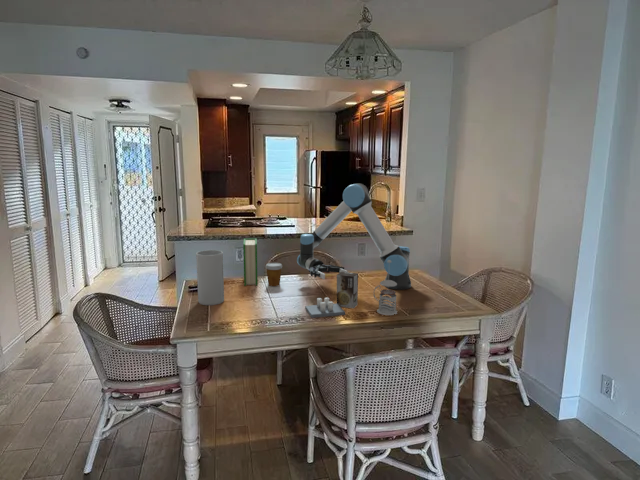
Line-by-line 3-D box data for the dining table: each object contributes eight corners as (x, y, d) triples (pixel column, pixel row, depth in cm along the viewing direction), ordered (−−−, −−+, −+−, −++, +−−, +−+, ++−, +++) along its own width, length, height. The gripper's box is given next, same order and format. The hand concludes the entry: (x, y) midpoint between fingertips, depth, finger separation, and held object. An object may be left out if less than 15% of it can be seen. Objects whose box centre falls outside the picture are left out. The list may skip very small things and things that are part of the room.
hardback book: (257, 285, 238) (256, 243, 234) (244, 286, 237) (243, 244, 233) (257, 277, 255) (256, 238, 251) (244, 277, 254) (243, 238, 250)
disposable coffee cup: (285, 284, 241) (285, 263, 239) (275, 288, 233) (275, 267, 231) (272, 281, 246) (272, 261, 244) (262, 285, 238) (261, 264, 236)
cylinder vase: (228, 299, 214) (227, 251, 210) (216, 307, 202) (214, 256, 198) (206, 296, 217) (204, 249, 213) (193, 304, 206) (191, 254, 201)
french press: (397, 316, 193) (400, 262, 189) (372, 313, 196) (374, 261, 191) (398, 308, 203) (400, 258, 198) (373, 307, 205) (375, 256, 201)
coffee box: (358, 305, 208) (358, 273, 205) (353, 309, 202) (354, 276, 199) (340, 302, 211) (341, 271, 209) (335, 306, 206) (336, 274, 203)
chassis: (337, 306, 205) (337, 295, 204) (345, 314, 194) (345, 303, 193) (305, 308, 201) (305, 297, 200) (311, 317, 190) (311, 306, 189)
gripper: (334, 270, 238) (355, 279, 220) (294, 274, 225) (314, 285, 207) (334, 257, 236) (356, 265, 218) (294, 261, 224) (314, 270, 206)
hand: (335, 275), depth 213 cm, fingers open, 13 cm apart
